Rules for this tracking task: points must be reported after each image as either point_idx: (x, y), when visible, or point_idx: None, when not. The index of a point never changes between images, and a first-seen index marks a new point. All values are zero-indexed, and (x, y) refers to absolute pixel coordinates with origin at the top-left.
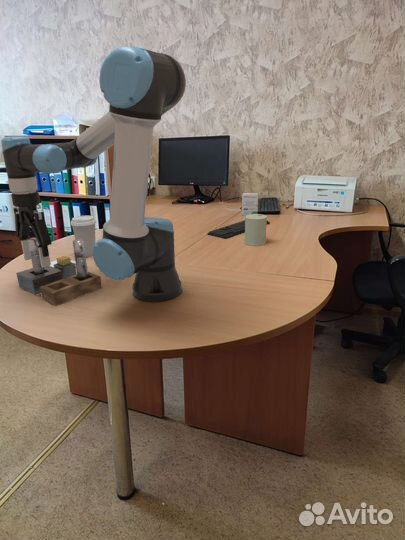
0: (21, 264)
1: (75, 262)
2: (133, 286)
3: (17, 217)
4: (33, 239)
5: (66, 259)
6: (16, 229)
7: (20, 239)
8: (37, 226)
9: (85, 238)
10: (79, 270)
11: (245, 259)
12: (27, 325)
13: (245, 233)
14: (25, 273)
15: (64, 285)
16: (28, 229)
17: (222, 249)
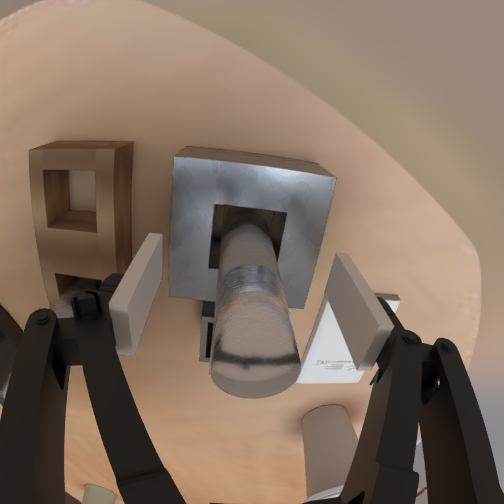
0: (455, 296)
1: (298, 381)
2: None
3: (468, 485)
4: (237, 366)
5: (210, 359)
6: (460, 382)
7: (403, 333)
8: (17, 451)
9: (315, 458)
10: (55, 304)
11: None
12: (29, 29)
13: (104, 502)
14: (289, 195)
15: (82, 226)
16: (362, 430)
17: (107, 477)
